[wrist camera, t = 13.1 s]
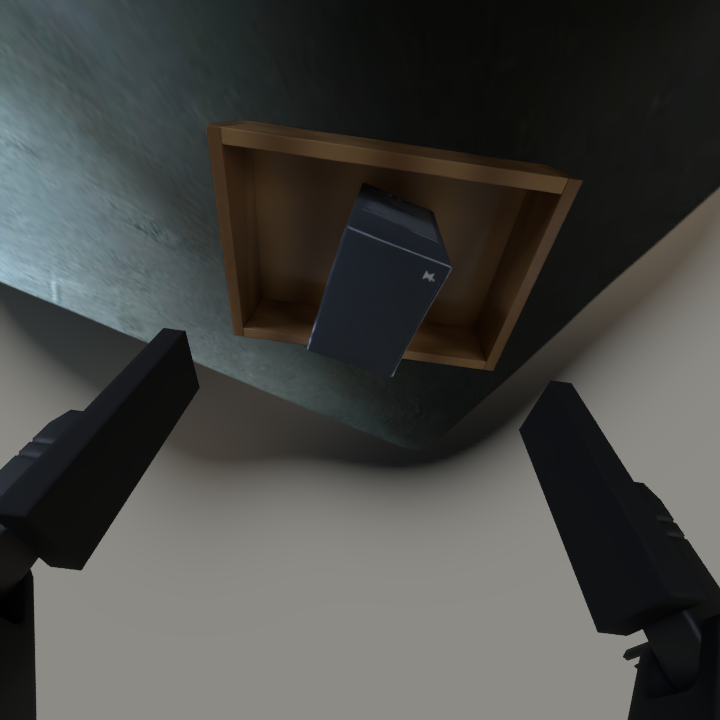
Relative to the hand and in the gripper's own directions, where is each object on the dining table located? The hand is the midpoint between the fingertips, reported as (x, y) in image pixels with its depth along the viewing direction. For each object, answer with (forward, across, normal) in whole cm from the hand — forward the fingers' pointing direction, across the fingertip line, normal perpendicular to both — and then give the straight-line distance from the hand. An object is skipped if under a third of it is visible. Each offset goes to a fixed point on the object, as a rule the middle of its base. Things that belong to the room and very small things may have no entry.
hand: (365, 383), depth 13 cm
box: (+17, 0, -1) cm, 17 cm away
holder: (+18, 0, -1) cm, 18 cm away
